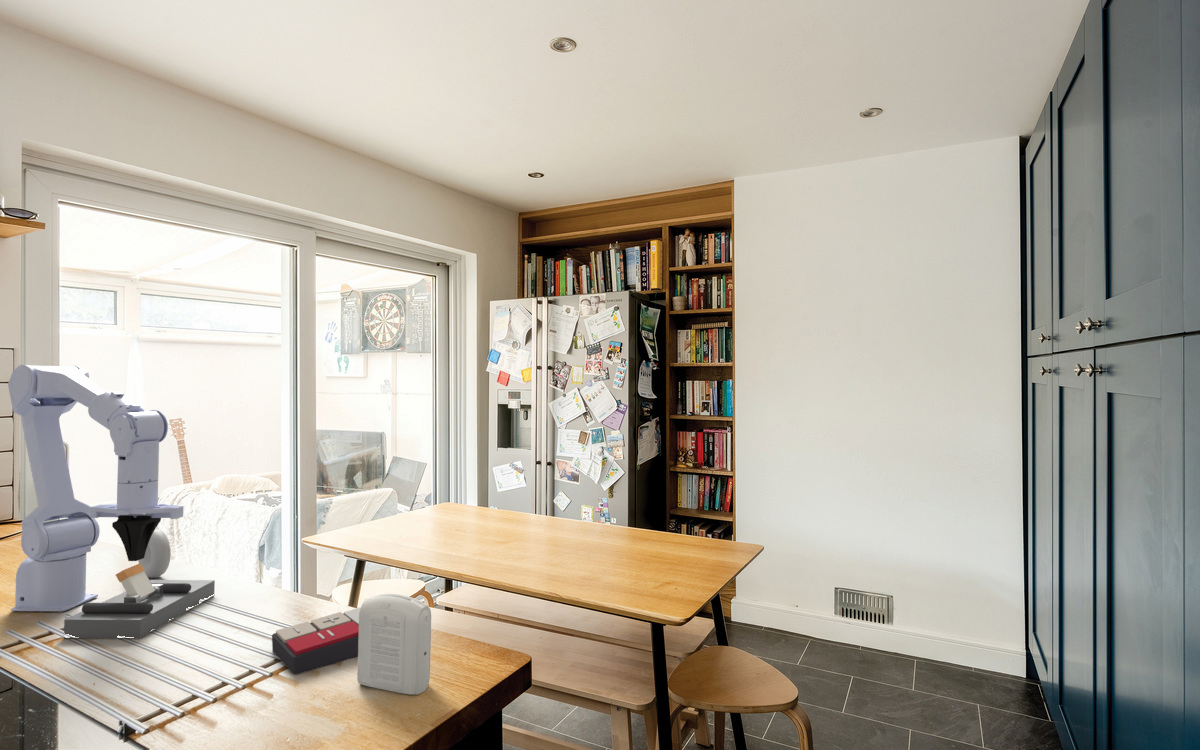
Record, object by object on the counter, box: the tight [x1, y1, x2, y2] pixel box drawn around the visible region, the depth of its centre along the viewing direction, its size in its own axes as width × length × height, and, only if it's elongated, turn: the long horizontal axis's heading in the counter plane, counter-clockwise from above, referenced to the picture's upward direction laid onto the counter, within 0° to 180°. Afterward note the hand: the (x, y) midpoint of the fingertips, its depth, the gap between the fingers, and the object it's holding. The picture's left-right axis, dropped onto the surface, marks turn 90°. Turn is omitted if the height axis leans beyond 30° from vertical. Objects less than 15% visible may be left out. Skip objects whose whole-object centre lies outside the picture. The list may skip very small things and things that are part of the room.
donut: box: [137, 528, 172, 579], centre depth 131 cm, size 10×4×10 cm, turn 55°
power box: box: [63, 579, 216, 640], centre depth 110 cm, size 12×20×5 cm, turn 1°
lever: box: [115, 563, 155, 602], centre depth 108 cm, size 2×4×6 cm, turn 2°
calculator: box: [271, 606, 361, 676], centre depth 98 cm, size 11×4×15 cm
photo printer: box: [356, 593, 432, 696], centre depth 86 cm, size 10×4×12 cm, turn 72°
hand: (136, 559), depth 108 cm, fingers closed
